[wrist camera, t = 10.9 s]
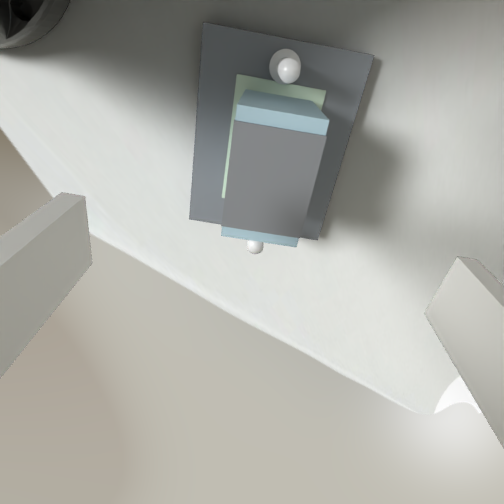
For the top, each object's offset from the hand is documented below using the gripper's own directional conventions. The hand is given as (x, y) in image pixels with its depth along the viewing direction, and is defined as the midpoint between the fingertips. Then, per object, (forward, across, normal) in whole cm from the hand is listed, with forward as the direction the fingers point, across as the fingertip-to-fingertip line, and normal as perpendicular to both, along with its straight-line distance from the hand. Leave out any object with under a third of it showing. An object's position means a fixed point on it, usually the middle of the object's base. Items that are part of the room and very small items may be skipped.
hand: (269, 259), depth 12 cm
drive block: (+17, 0, 0) cm, 17 cm away
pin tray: (+18, 0, 0) cm, 18 cm away
